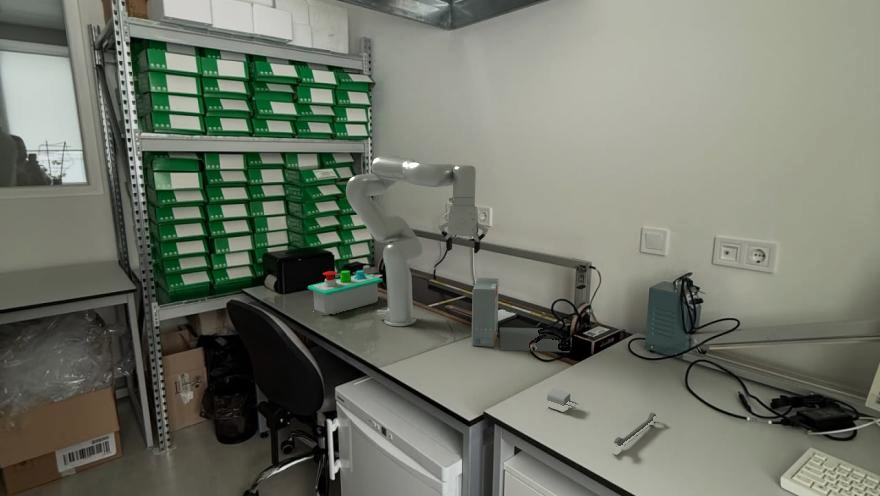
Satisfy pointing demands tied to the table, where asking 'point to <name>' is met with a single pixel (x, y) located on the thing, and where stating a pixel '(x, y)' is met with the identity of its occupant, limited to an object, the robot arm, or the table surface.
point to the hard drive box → (485, 312)
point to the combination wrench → (634, 431)
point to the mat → (525, 340)
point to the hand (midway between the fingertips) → (462, 251)
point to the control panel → (344, 292)
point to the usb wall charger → (559, 397)
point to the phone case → (505, 316)
